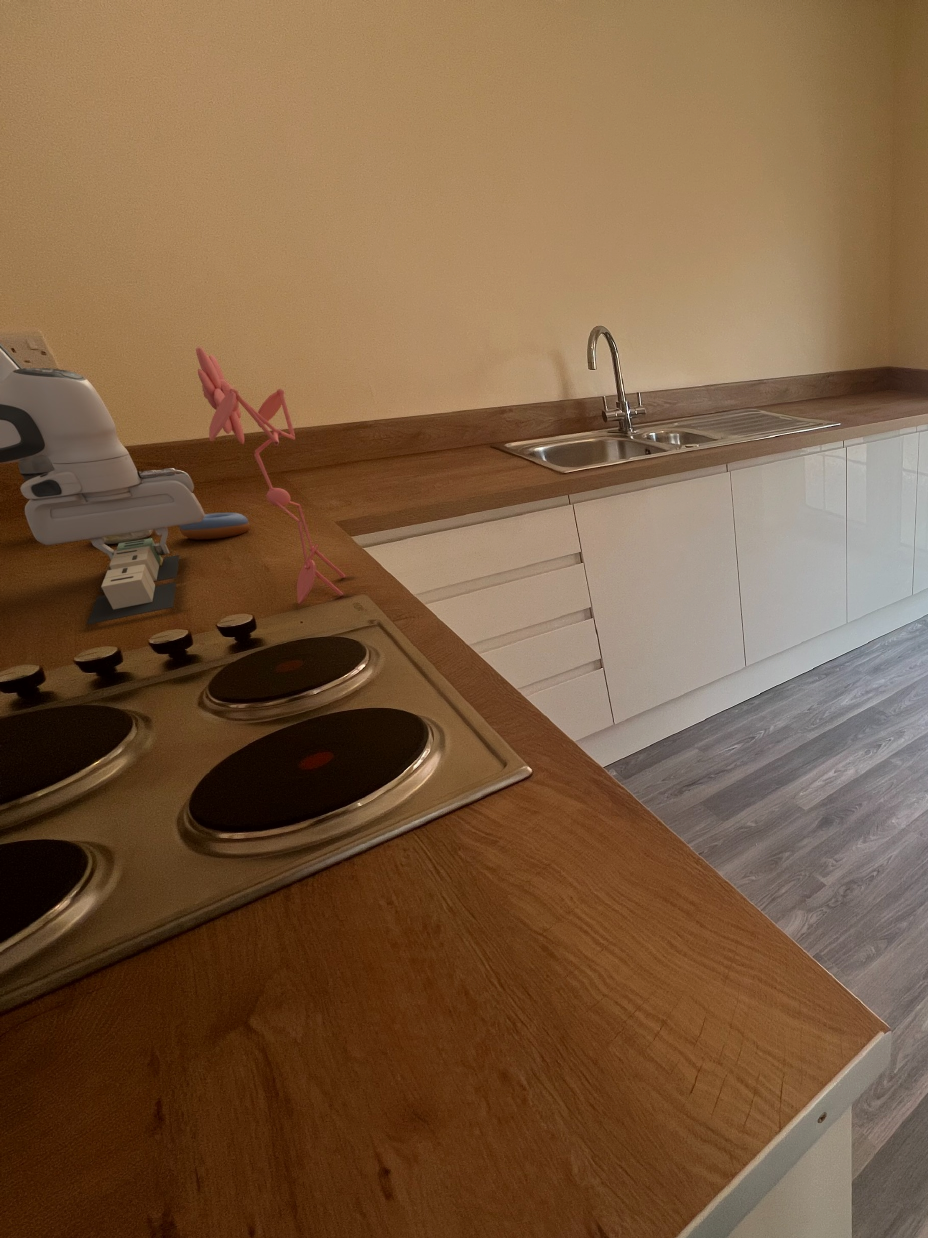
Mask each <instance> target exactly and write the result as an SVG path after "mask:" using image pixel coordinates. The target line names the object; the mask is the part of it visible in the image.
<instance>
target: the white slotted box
mask: <svg viewBox="0 0 928 1238" xmlns="http://www.w3.org/2000/svg"><path fill="white" fill-rule="evenodd" d="M104 578H105V577H104ZM101 587H102V589H103V591H102V592H103V593H104V595H106V597H107V599H108V600H109V602H110V604H111V606H112V608H113V609H119V608H124V607H129V606H134V605H139V604H144V603H150V602H152V600H153V595H154V593H153V591H152V589H151V587H150V585H149V583H148V581H147V579H146V577H145V575H144V573H143V572H140V573H134V574H128V575H122V576H117V577H111V578H105V579H103V581H102V583H101V586H100V588H101Z"/></svg>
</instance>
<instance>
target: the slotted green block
mask: <svg viewBox="0 0 928 1238" xmlns="http://www.w3.org/2000/svg"><path fill="white" fill-rule="evenodd" d="M154 544H156V543H155V541H154V540H153V538H151V537H150V538H143V539H139V540H135V541H130V542H124V543H118V545H117V547H116V550H117V551H121V550H127V549H133V548H140V547H146V546H150V548H151V550H152V552H153V554H154V556H155V558H156V561H157V563H158V564H160V563H161V558H162V555H160V556H158V555H157V553H156V551H155V549H154V547H153V545H154Z"/></svg>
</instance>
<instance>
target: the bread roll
mask: <svg viewBox="0 0 928 1238" xmlns="http://www.w3.org/2000/svg"><path fill="white" fill-rule="evenodd" d="M153 532H154V529H153V530H146V531H140V532H133V533H127V534H120V535H114V536H107V537H104V538H105V542H104V544H105V545H116V544H119V543H124V542H131V541H137V540H144V539H147V538H148V537H150V536H151V535H152V534H153Z"/></svg>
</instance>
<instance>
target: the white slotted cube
mask: <svg viewBox="0 0 928 1238" xmlns="http://www.w3.org/2000/svg"><path fill="white" fill-rule="evenodd" d="M107 570H108V569H107ZM140 572H143V573H144V575H145V577H146V579H147V581H148V583H149V585H150V587H151V589H152V591H153V593H154V589H155V586H156V584H155V582H153V580H152V578H151V576H150V574H149V572H148V570H147V568H146V566H145V564H143V565H137V566H131V567H125V568H119V569H113V570H108V571H106V573H105V575H104V578H111V577H117V576H122V575H128V574H134V573H140Z"/></svg>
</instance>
